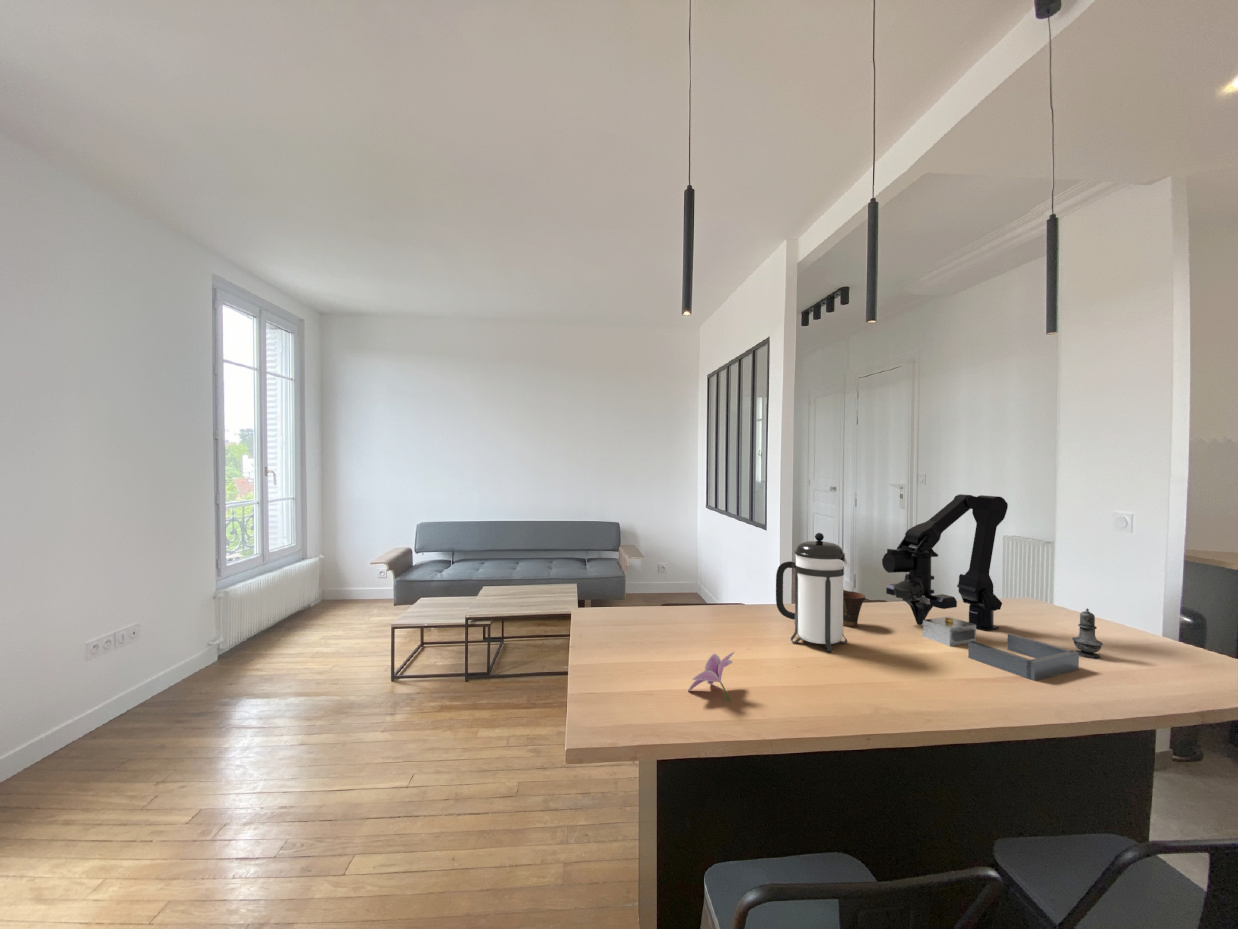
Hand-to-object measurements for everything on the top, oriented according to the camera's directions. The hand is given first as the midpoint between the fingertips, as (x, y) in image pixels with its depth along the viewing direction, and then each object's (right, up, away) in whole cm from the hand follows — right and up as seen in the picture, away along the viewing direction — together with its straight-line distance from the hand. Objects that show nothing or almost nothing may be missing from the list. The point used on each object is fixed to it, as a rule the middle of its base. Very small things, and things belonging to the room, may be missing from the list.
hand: (919, 624), depth 150 cm
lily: (-69, -2, -42) cm, 81 cm away
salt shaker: (+32, -2, -19) cm, 37 cm away
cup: (-19, -2, +4) cm, 20 cm away
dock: (+10, -2, -25) cm, 27 cm away
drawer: (+4, -2, -8) cm, 9 cm away
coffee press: (-35, -2, -11) cm, 37 cm away
